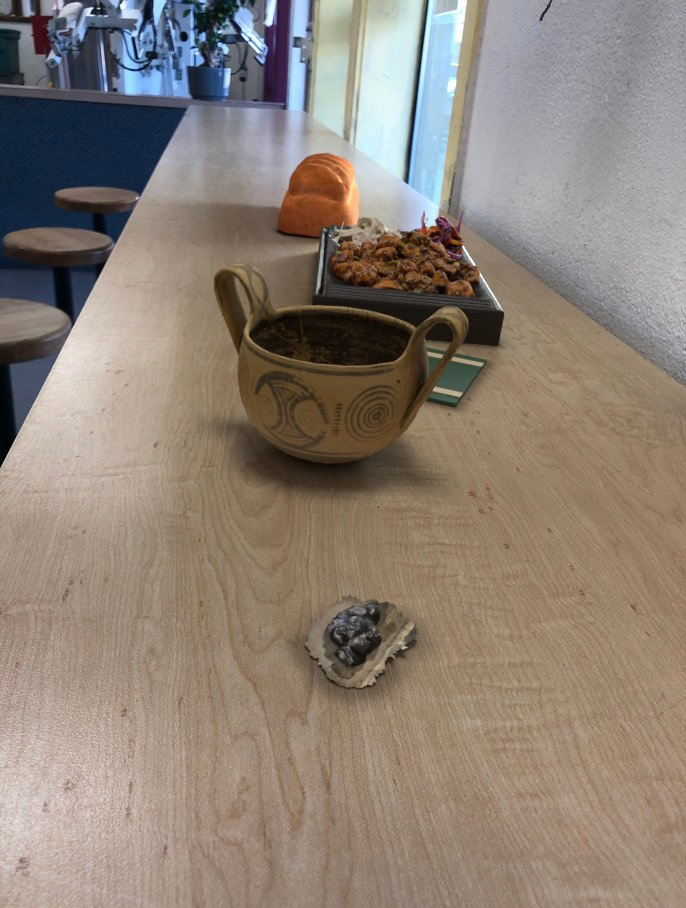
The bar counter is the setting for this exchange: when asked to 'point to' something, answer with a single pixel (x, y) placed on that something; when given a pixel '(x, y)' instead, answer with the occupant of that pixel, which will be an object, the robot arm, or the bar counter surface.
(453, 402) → the dish cloth
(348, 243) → the food platter
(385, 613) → the dark lumps on shell
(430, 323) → the ceramic bowl
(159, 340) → the bar counter surface
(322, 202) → the bread
